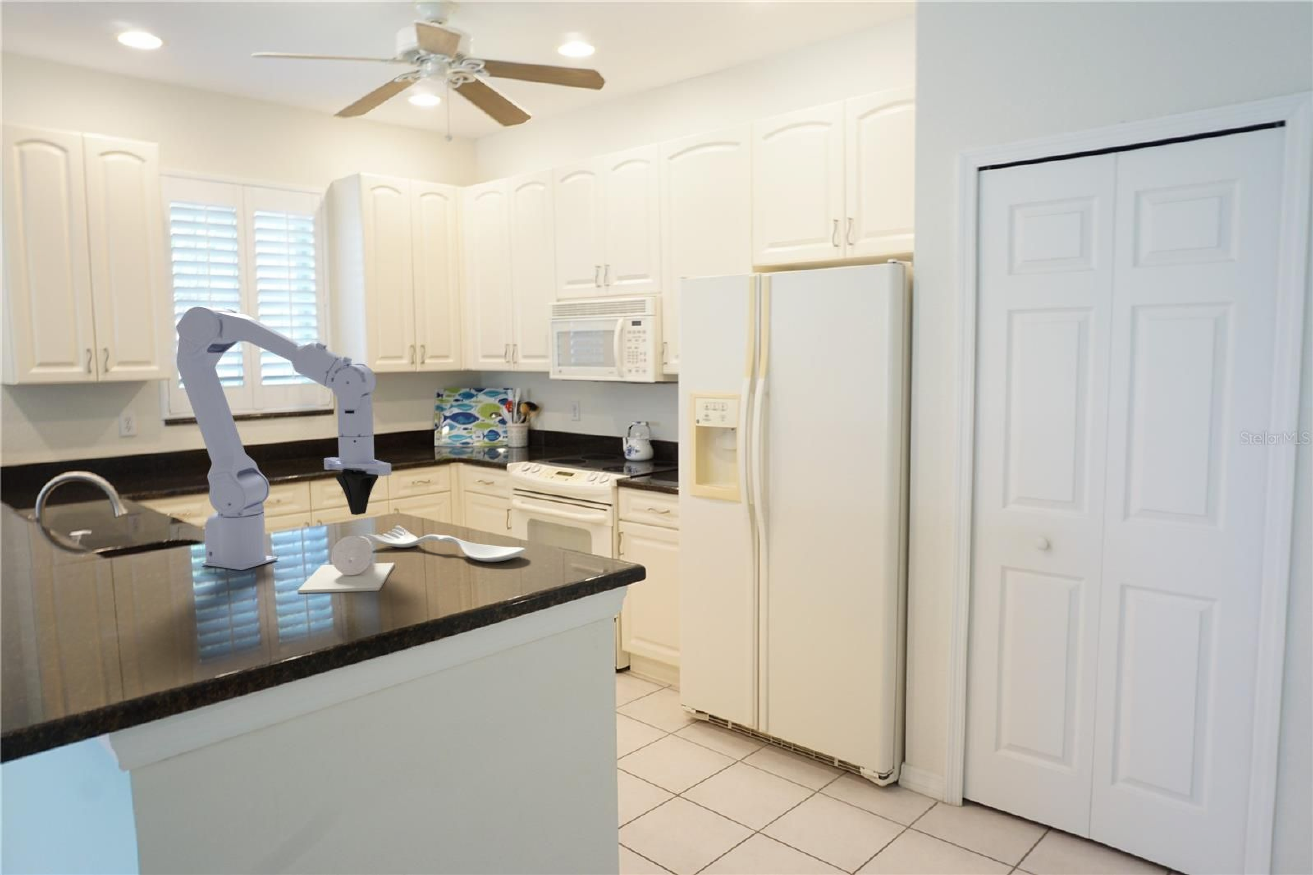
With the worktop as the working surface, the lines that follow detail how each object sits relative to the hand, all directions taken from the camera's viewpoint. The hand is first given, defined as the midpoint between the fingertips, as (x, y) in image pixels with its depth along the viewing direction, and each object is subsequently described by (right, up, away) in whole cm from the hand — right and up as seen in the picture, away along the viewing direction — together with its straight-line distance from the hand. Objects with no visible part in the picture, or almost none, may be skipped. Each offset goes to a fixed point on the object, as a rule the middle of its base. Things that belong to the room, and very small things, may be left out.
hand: (358, 513), depth 148 cm
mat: (+1, -10, -8) cm, 13 cm away
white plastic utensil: (+13, -9, +9) cm, 18 cm away
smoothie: (0, -6, +1) cm, 6 cm away
